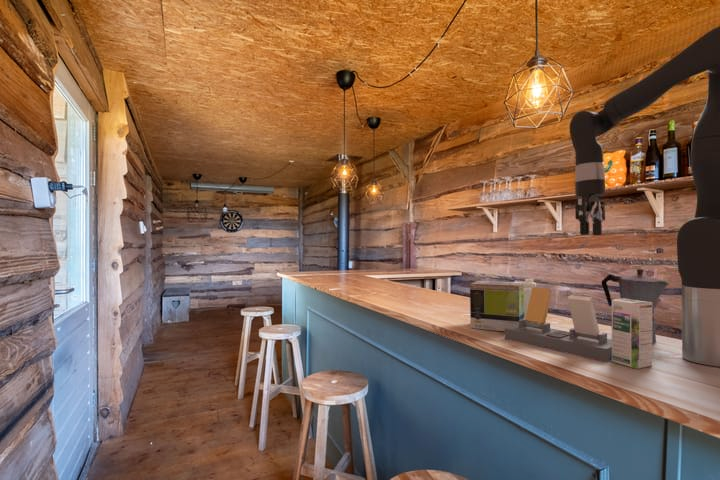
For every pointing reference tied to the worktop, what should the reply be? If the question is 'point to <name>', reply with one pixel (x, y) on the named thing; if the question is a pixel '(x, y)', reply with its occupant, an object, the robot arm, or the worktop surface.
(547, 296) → the toggle
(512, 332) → the toggle switch base
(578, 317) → the toggle
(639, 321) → the syrup box
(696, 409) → the worktop surface
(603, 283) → the moka pot
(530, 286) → the strainer
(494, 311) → the tea box
